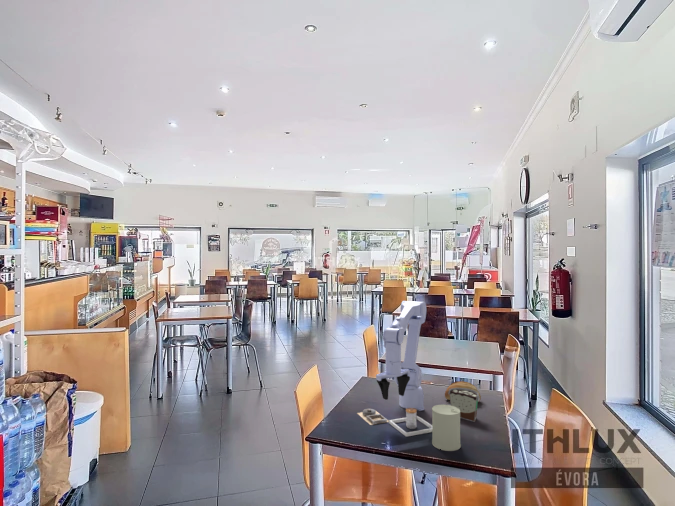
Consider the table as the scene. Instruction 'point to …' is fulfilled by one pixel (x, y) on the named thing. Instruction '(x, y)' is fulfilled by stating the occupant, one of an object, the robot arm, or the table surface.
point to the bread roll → (461, 385)
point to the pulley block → (372, 417)
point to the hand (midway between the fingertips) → (393, 396)
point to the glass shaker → (411, 418)
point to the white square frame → (413, 431)
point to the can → (446, 427)
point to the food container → (465, 402)
